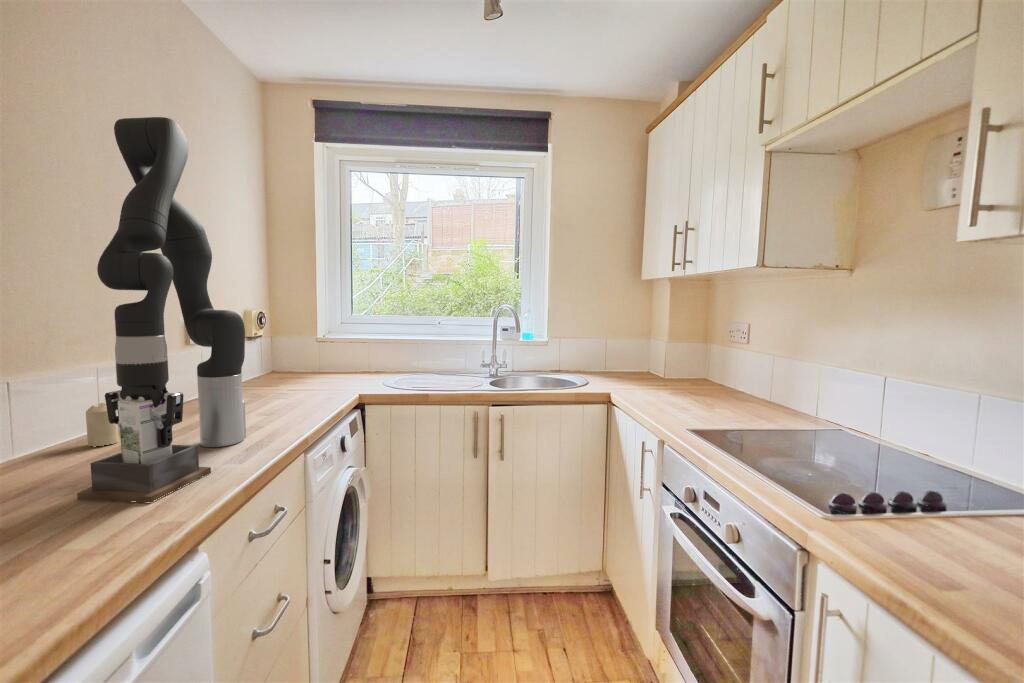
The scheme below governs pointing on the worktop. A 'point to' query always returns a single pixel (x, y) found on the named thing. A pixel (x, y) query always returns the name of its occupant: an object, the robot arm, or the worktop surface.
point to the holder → (143, 476)
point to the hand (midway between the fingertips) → (147, 445)
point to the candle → (100, 426)
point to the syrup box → (140, 432)
